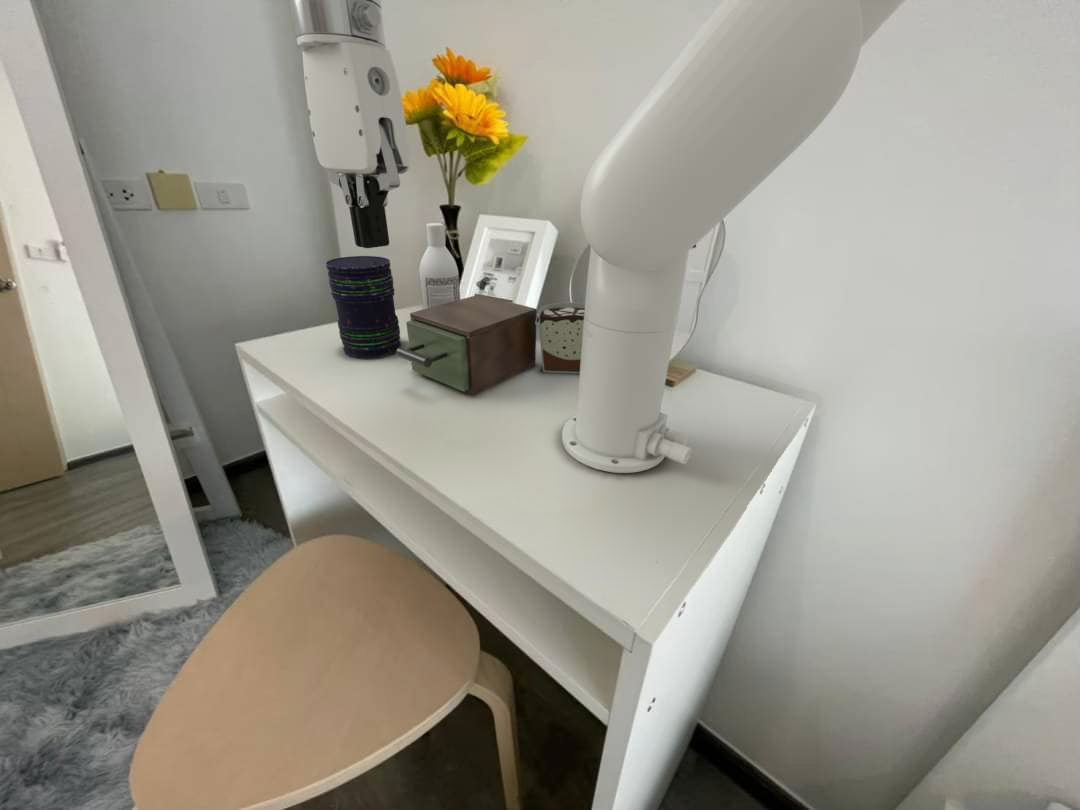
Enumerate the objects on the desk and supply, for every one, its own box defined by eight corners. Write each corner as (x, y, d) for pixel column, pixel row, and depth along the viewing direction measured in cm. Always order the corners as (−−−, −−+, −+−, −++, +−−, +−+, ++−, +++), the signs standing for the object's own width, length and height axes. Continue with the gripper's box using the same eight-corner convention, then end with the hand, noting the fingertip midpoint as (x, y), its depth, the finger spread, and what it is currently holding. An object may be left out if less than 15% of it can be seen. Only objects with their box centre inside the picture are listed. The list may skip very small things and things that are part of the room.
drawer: (440, 402, 59) (435, 348, 55) (389, 378, 65) (381, 328, 61) (524, 363, 71) (524, 316, 68) (474, 346, 77) (472, 302, 74)
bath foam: (469, 336, 84) (463, 225, 75) (436, 343, 80) (425, 227, 71) (451, 326, 89) (443, 220, 79) (419, 333, 85) (407, 222, 75)
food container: (606, 359, 76) (612, 302, 71) (610, 374, 70) (617, 314, 66) (535, 357, 76) (536, 300, 71) (533, 371, 71) (535, 311, 66)
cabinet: (473, 395, 63) (469, 332, 58) (416, 371, 69) (409, 312, 65) (535, 364, 73) (536, 308, 68) (481, 346, 80) (479, 294, 75)
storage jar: (330, 355, 74) (310, 265, 67) (363, 336, 83) (349, 254, 75) (384, 362, 72) (369, 270, 65) (412, 341, 81) (401, 258, 74)
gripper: (428, 30, 38) (444, 250, 47) (334, 50, 46) (364, 235, 55) (349, 7, 33) (384, 260, 42) (258, 33, 41) (305, 241, 49)
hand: (373, 245), depth 48 cm, fingers closed
